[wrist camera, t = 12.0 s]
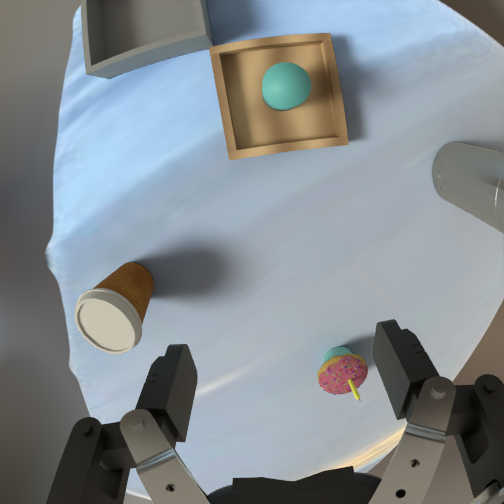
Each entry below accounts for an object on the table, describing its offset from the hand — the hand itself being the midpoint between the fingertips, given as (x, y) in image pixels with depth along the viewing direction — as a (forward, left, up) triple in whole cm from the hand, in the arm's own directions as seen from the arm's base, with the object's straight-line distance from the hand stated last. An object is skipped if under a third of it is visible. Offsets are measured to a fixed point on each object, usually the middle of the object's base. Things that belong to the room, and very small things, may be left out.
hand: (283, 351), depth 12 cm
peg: (-4, -12, -28) cm, 30 cm away
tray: (-3, -12, -28) cm, 31 cm away
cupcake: (-8, +30, -29) cm, 42 cm away
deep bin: (+11, -27, -28) cm, 41 cm away
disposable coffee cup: (+22, +10, -29) cm, 37 cm away
